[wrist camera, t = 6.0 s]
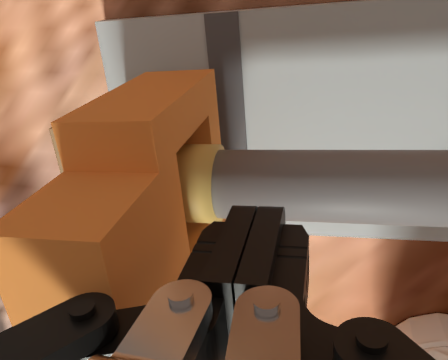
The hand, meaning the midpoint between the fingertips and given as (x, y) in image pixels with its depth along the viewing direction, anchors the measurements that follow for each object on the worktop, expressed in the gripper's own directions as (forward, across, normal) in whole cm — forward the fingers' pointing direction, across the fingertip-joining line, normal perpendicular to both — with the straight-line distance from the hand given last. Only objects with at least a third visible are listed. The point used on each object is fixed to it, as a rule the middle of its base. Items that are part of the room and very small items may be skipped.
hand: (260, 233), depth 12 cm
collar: (+7, +4, 0) cm, 8 cm away
